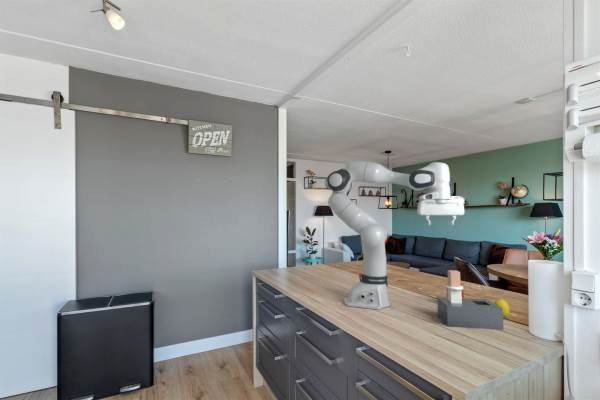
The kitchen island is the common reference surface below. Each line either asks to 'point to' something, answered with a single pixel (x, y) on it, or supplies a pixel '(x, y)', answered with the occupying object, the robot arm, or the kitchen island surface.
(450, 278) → the pink white square peg
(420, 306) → the kitchen island surface
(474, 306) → the block
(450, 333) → the kitchen island surface
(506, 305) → the lemon
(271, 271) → the kitchen island surface
